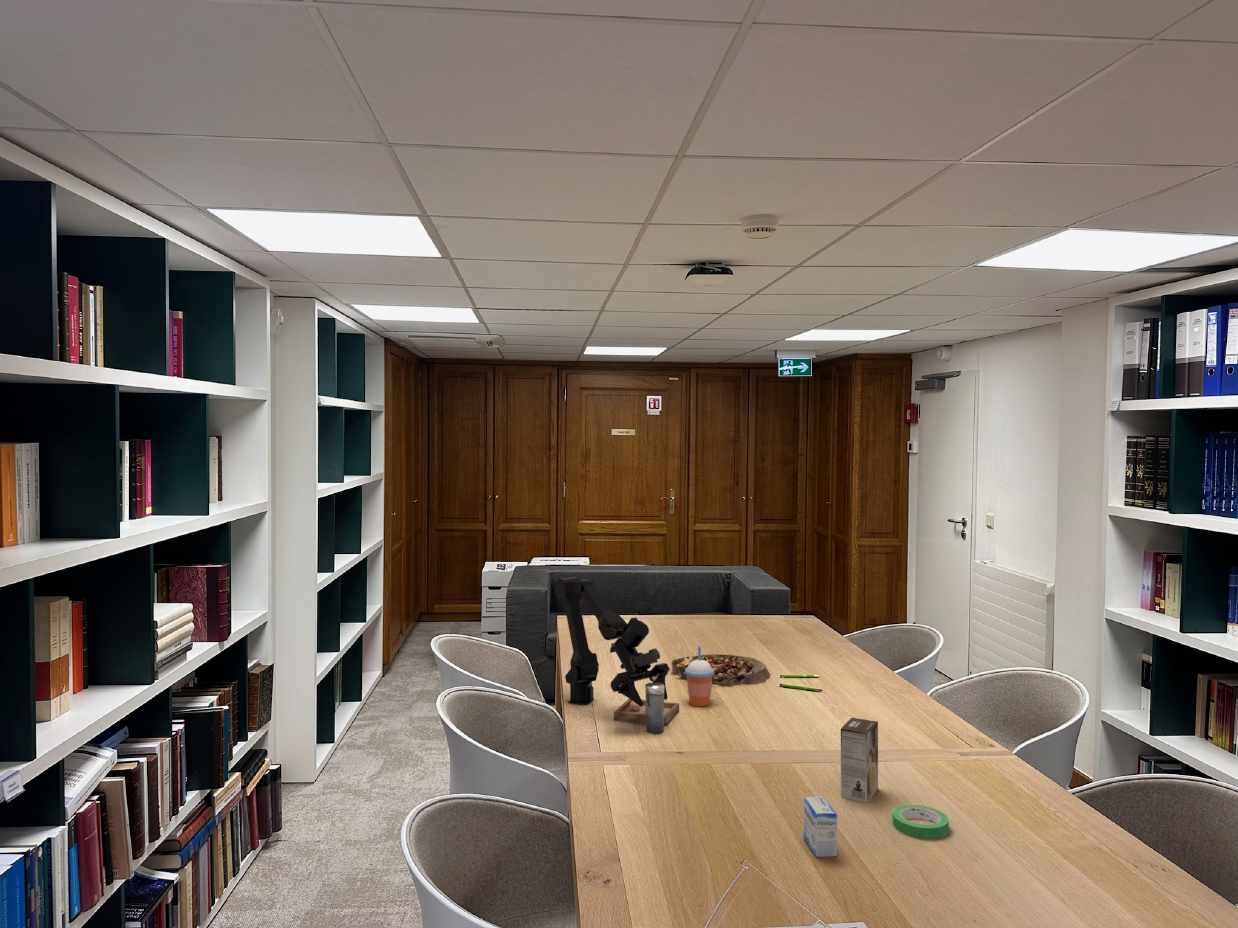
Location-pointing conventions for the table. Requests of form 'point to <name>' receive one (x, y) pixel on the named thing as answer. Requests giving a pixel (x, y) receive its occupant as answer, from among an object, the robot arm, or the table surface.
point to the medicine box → (820, 827)
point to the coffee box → (859, 759)
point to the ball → (634, 706)
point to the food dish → (728, 669)
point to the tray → (644, 712)
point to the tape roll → (920, 830)
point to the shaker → (654, 708)
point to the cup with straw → (699, 681)
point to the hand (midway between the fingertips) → (654, 702)
